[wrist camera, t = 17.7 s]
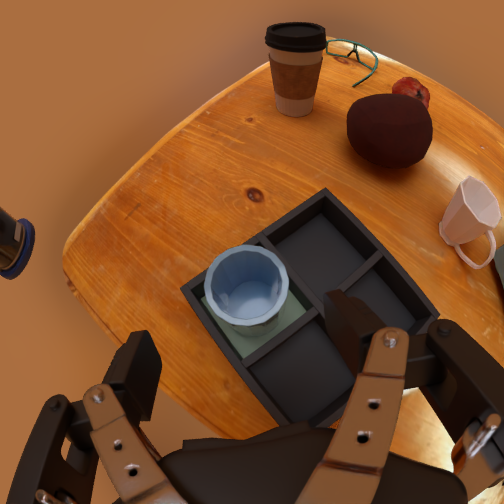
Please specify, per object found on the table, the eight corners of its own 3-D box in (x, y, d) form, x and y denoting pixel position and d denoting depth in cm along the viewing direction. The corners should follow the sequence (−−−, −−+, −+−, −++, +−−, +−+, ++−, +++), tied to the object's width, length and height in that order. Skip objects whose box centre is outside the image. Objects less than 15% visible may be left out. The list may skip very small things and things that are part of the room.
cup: (456, 207, 30) (484, 175, 23) (481, 272, 26) (518, 247, 18) (422, 212, 30) (450, 175, 23) (448, 283, 26) (488, 258, 19)
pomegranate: (382, 105, 42) (393, 103, 34) (391, 74, 39) (404, 66, 30) (414, 121, 42) (431, 122, 33) (423, 90, 38) (441, 86, 29)
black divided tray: (295, 436, 22) (299, 448, 18) (191, 298, 28) (179, 287, 24) (421, 322, 25) (440, 314, 21) (320, 207, 31) (325, 186, 28)
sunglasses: (382, 69, 45) (385, 52, 40) (361, 96, 42) (364, 77, 38) (327, 49, 49) (328, 33, 45) (298, 73, 46) (297, 54, 42)
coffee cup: (323, 122, 37) (334, 38, 24) (269, 122, 38) (264, 35, 24) (315, 94, 41) (321, 20, 27) (267, 94, 41) (263, 19, 28)
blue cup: (247, 349, 25) (235, 343, 17) (212, 300, 27) (189, 275, 20) (296, 312, 26) (306, 290, 19) (260, 266, 28) (255, 230, 21)
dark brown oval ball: (327, 134, 36) (336, 77, 27) (396, 128, 36) (414, 80, 27) (359, 192, 32) (383, 133, 22) (432, 180, 32) (462, 131, 23)
